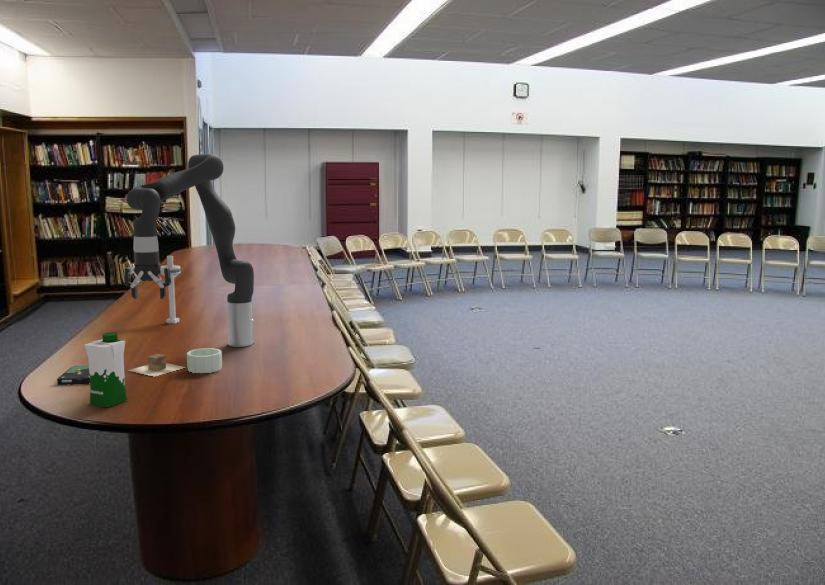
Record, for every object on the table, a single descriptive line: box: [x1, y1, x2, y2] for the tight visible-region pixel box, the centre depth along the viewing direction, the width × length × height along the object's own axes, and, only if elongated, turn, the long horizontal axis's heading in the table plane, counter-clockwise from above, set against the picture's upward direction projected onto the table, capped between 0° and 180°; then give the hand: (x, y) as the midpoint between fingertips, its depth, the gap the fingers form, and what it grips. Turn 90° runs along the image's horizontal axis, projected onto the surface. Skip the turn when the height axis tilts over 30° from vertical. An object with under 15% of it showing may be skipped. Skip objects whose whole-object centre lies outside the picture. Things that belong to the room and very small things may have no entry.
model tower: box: [160, 255, 182, 324], centre depth 296 cm, size 8×8×30 cm
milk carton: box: [84, 332, 128, 409], centre depth 192 cm, size 9×9×20 cm
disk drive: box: [56, 364, 90, 386], centre depth 216 cm, size 10×3×15 cm
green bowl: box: [186, 347, 223, 374], centre depth 228 cm, size 11×11×6 cm
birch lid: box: [128, 353, 187, 378], centre depth 226 cm, size 13×13×6 cm
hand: (149, 298), depth 220 cm, fingers open, 8 cm apart
